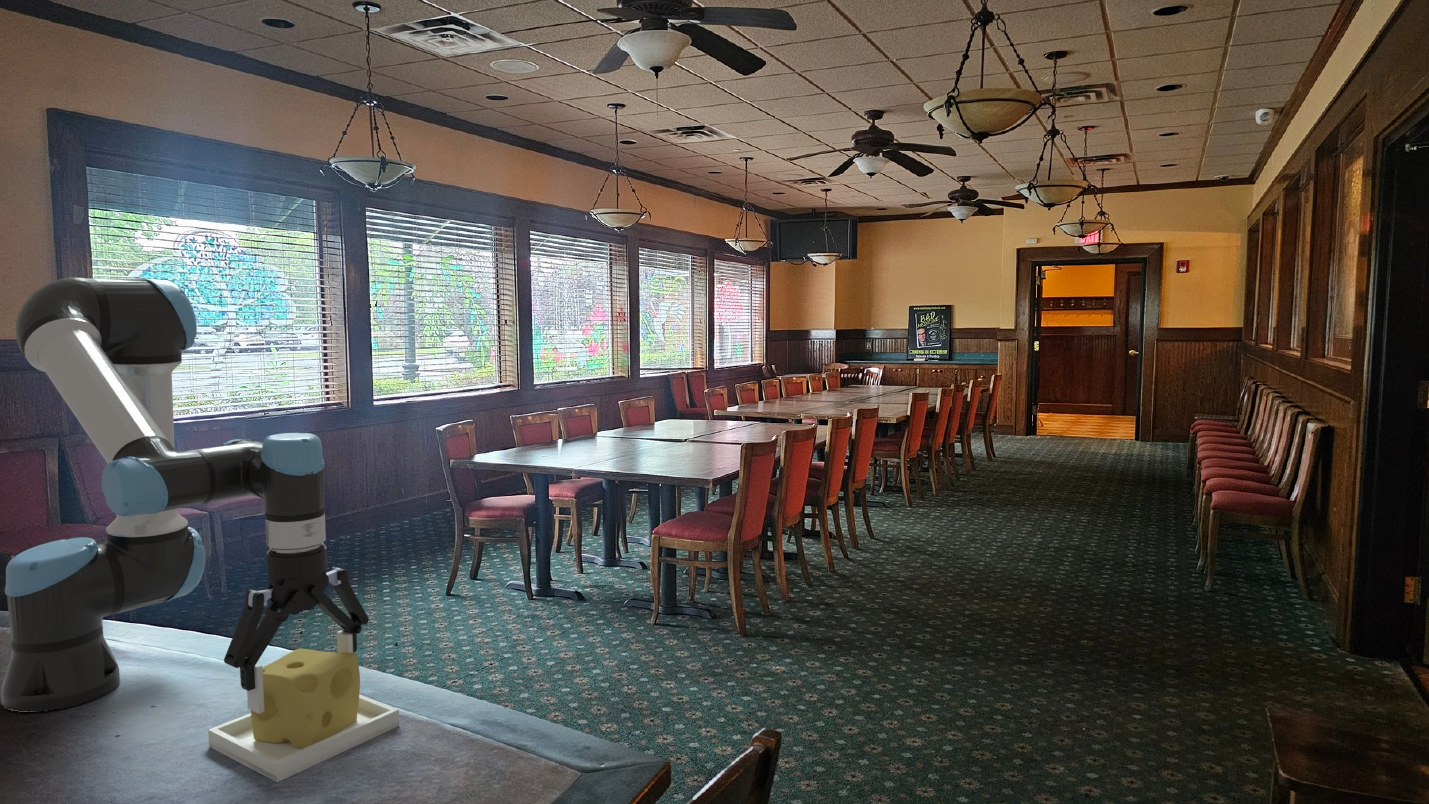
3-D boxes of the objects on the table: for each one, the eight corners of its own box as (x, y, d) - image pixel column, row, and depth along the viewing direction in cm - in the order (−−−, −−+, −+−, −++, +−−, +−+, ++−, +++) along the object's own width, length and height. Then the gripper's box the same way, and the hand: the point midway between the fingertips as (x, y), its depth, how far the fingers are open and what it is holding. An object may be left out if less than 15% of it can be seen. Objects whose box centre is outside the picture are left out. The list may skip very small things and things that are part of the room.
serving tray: (209, 746, 125) (208, 729, 125) (330, 697, 141) (330, 682, 140) (277, 782, 116) (276, 763, 116) (399, 725, 132) (398, 709, 131)
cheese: (312, 752, 122) (309, 681, 121) (247, 741, 125) (243, 671, 124) (362, 718, 132) (360, 652, 131) (301, 708, 135) (298, 644, 134)
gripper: (220, 573, 113) (229, 734, 115) (390, 530, 133) (394, 668, 136) (189, 562, 117) (198, 718, 120) (359, 523, 138) (363, 656, 140)
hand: (303, 692), depth 128 cm, fingers open, 13 cm apart
